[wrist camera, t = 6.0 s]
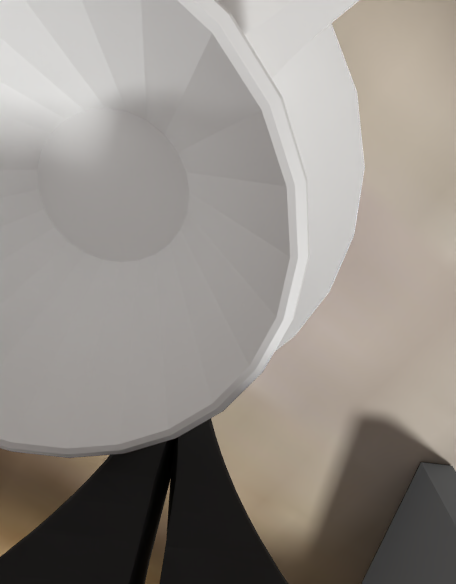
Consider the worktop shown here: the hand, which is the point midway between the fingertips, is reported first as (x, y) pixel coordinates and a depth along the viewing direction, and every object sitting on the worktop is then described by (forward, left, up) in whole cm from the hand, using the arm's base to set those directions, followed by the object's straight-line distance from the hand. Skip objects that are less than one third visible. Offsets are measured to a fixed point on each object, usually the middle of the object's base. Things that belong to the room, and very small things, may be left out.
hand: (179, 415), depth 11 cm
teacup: (+2, -6, -2) cm, 7 cm away
